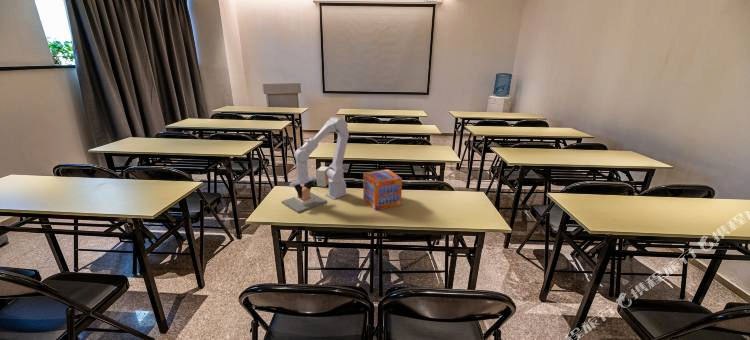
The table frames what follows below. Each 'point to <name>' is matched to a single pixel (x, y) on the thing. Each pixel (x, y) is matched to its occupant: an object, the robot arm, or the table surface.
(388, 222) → the table surface
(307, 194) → the keyed peg
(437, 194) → the table surface
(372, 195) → the game box
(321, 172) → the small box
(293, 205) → the keyed socket
